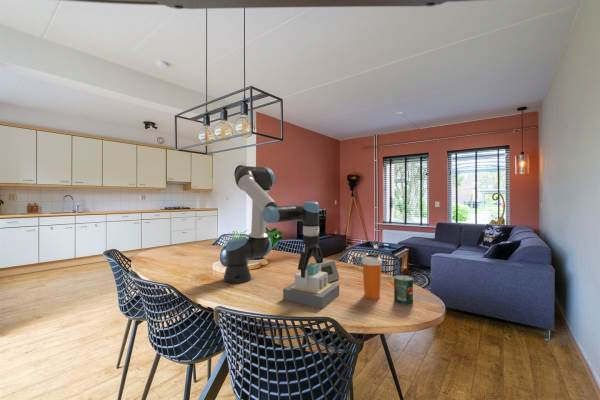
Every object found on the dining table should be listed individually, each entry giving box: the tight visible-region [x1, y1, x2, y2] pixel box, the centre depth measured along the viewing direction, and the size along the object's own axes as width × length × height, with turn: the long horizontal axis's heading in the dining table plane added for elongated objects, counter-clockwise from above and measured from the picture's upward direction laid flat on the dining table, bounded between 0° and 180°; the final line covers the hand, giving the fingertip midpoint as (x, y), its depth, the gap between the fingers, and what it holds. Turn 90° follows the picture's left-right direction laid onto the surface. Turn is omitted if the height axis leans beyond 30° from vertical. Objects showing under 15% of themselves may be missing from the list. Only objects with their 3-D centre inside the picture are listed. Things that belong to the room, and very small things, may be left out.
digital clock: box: [321, 259, 340, 283], centre depth 150 cm, size 16×9×11 cm, turn 121°
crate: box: [306, 262, 319, 276], centre depth 127 cm, size 5×5×4 cm
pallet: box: [294, 271, 328, 292], centre depth 126 cm, size 12×10×6 cm
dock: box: [282, 282, 340, 310], centre depth 126 cm, size 20×18×5 cm
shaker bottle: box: [361, 252, 383, 300], centre depth 127 cm, size 9×9×20 cm
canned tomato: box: [393, 274, 414, 307], centre depth 120 cm, size 8×8×11 cm
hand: (311, 280), depth 126 cm, fingers open, 13 cm apart
